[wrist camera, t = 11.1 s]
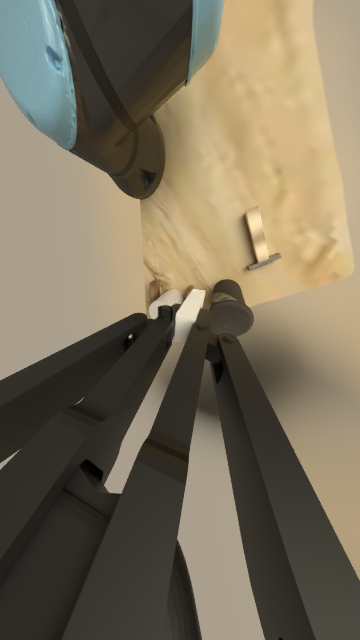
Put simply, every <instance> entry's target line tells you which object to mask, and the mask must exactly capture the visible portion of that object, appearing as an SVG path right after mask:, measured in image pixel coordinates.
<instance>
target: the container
mask: <svg viewBox="0 0 360 640" xmlns="http://www.w3.org/2000/svg"><path fill="white" fill-rule="evenodd" d="M209 310H211V312H212V316H211V322H210V329H211V331H212V332H214V333H215V334H217V335H220V334H222V333H228V334H231V335H233V336H235V337H237V336H240V335H242V334H244V333H246V332H247V331H248V330H249V329H250V328H251V326H252V325H253V322H254V316H253V313H252V311H251V309H250V308H249V307H248V306H247V305H246V304H245V301H244V298H243V295H242V292H241V288H240V286H239V285H238V284H237V283H236V282H235V281H233V280H228V279H227V280H222V281H220V282H218V283H217V284H216V285H215V287H214V291H213V298H212V305H211V308H210V309H209Z"/></svg>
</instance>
